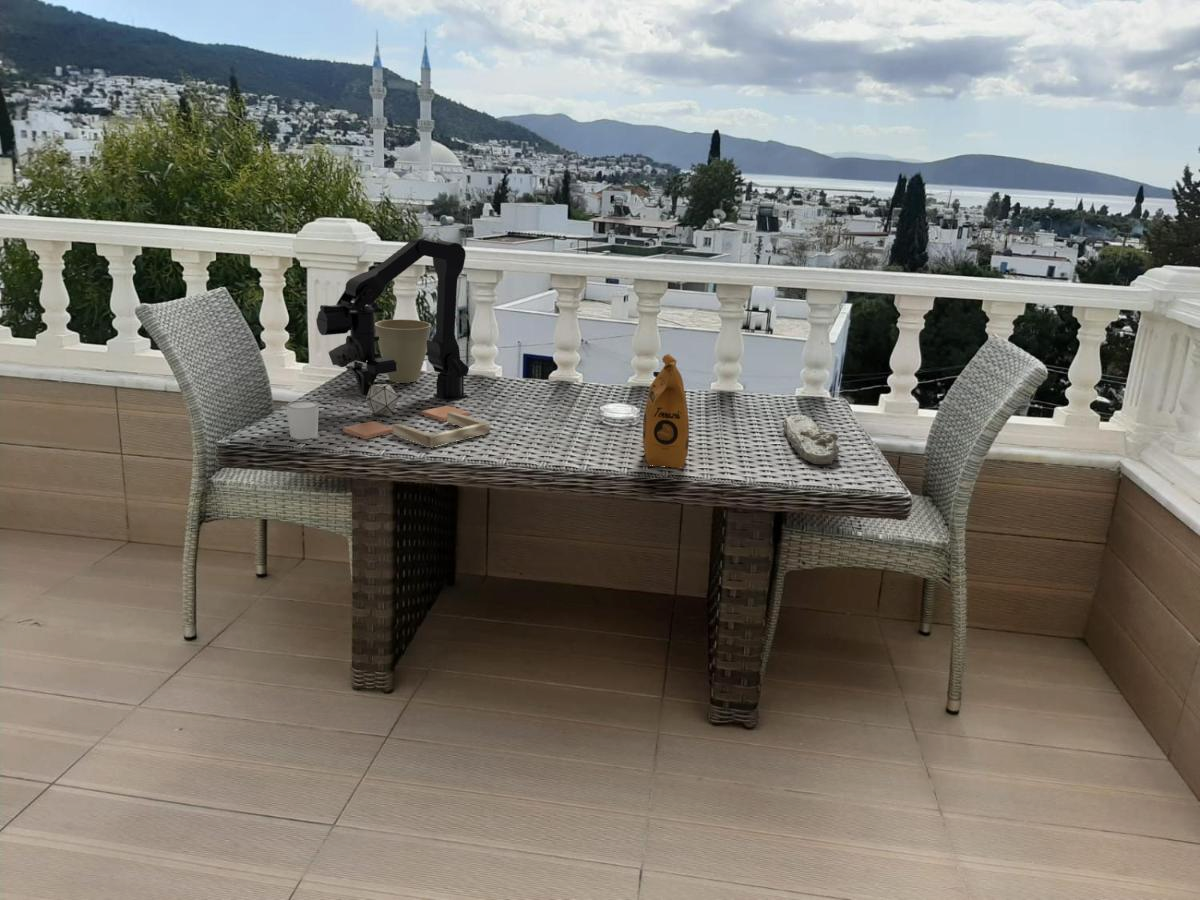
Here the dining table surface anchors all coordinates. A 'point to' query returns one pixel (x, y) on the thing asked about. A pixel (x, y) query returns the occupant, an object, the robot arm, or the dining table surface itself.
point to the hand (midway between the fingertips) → (365, 395)
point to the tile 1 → (368, 430)
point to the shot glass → (303, 419)
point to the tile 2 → (442, 412)
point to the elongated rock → (810, 440)
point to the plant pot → (403, 346)
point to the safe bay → (468, 430)
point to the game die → (381, 398)
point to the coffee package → (666, 419)
